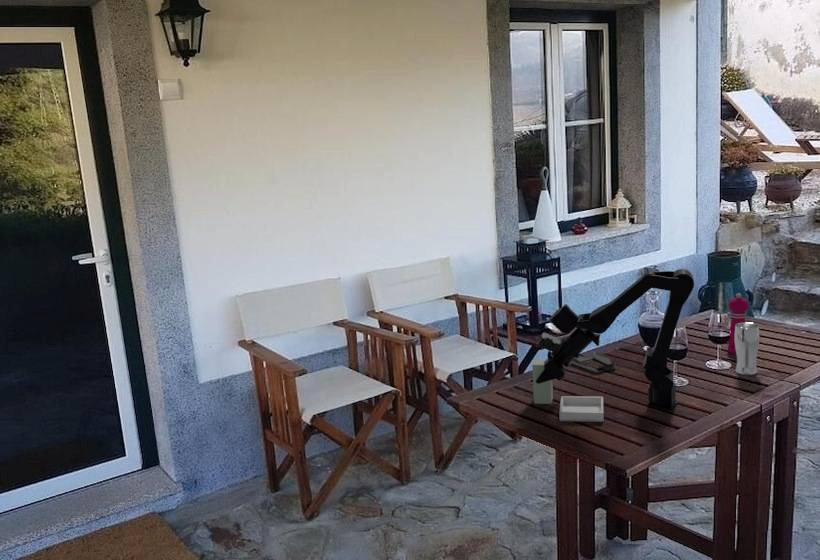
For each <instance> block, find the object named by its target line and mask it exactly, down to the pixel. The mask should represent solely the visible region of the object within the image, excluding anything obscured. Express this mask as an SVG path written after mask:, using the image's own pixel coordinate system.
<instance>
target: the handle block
mask: <svg viewBox="0 0 820 560" xmlns="http://www.w3.org/2000/svg"><path fill="white" fill-rule="evenodd" d="M547 360H548V358H547V359H545V358H543V359H541V358H534V360H533V362H532V365H531V366H532V367H531V368H532V371H531V372H532V385H533V386H532V387H533V388H532V389H533V404H540V405H541V404H542V405H544V404H545V405H552V402H553V398H554V389H553V387H554V386H553V385H554V384H553V380H549V381H546V382H543V383H540V384H537V383H536V380H537V378H538V377H539V376H540V374H541V373H542V371H543V370H544V362H545V361H547Z"/></svg>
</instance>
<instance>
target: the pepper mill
mask: <svg viewBox="0 0 820 560" xmlns="http://www.w3.org/2000/svg"><path fill="white" fill-rule="evenodd" d="M728 308H729V310H730V313H729V314H730V315H729V316H730V317H731V318H730V319H731V323H730V326H729V329H730V330H731V334H730V339H729V341H728V342H727V344H728V345H727V352H728V353H730V354H733V355H737V354H736V349H735V339H734V337H735V325H736V324H737V323H742V322H746V317H747V315H748V314H747V310H748V309H749V302H748V300H747V299H746V298H744V297H742V293H740V292H738V293H736V294H735V297H733V298H731V299H730V300H729V302H728Z"/></svg>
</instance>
